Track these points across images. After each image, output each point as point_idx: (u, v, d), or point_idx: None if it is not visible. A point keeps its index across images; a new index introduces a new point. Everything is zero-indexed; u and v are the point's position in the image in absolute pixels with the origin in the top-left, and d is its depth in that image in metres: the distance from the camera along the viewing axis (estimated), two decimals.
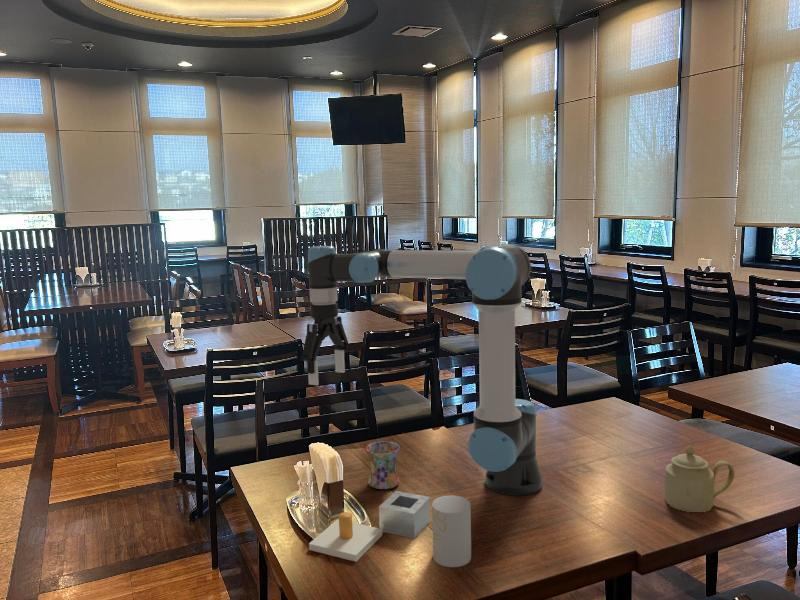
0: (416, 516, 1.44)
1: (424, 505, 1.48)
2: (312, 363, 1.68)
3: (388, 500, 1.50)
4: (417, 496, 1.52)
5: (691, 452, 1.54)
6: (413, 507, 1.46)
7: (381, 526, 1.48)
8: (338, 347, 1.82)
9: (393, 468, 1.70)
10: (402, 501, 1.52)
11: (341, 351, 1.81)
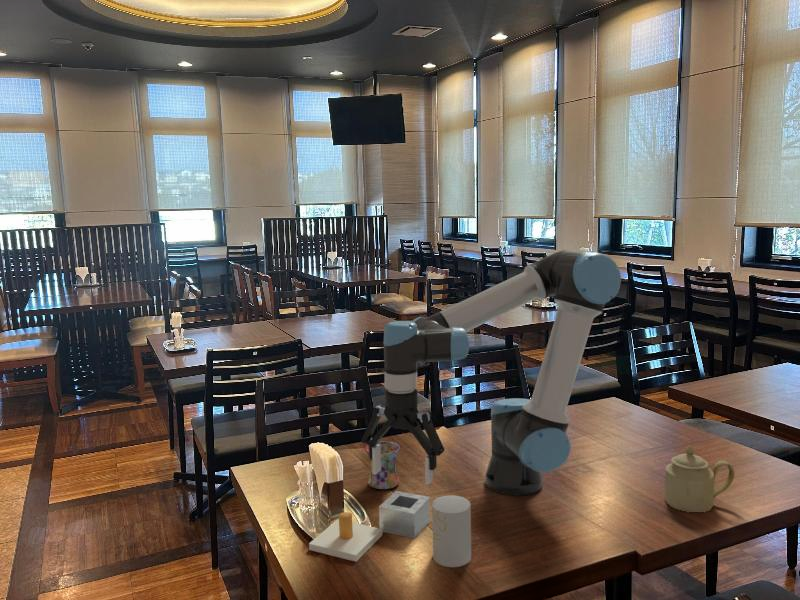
0: (416, 516, 1.44)
1: (424, 505, 1.48)
2: (370, 448, 1.50)
3: (388, 500, 1.50)
4: (417, 496, 1.52)
5: (691, 452, 1.54)
6: (413, 507, 1.46)
7: (381, 526, 1.48)
8: None
9: (393, 468, 1.70)
10: (402, 501, 1.52)
11: None
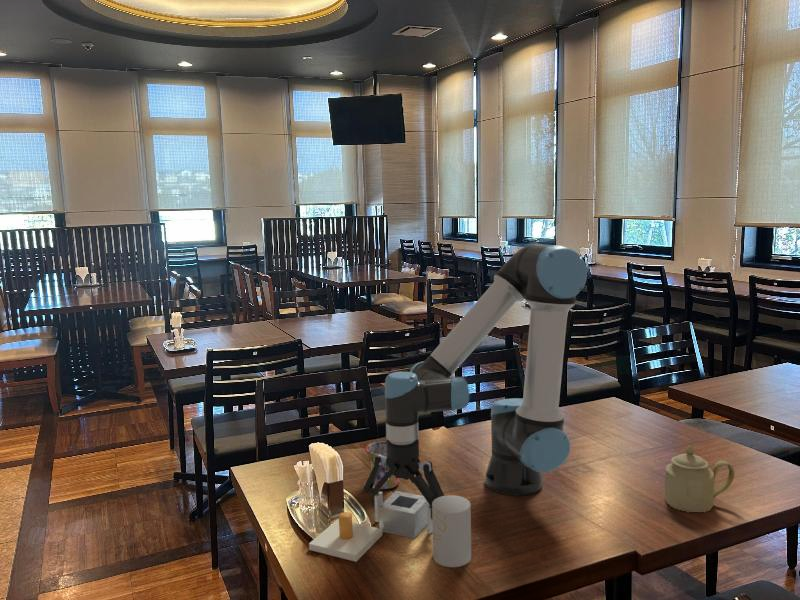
0: (416, 516, 1.44)
1: (424, 505, 1.48)
2: (373, 495, 1.52)
3: (388, 500, 1.50)
4: (417, 496, 1.52)
5: (691, 452, 1.54)
6: (413, 507, 1.46)
7: (381, 526, 1.48)
8: None
9: None
10: (402, 501, 1.52)
11: None
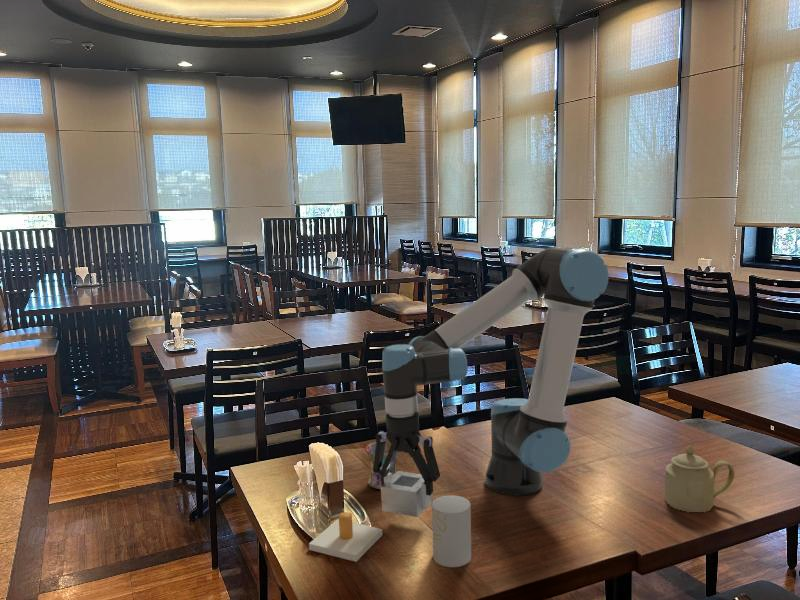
0: (418, 495, 1.44)
1: None
2: (382, 477, 1.51)
3: (390, 480, 1.50)
4: (419, 475, 1.51)
5: (691, 452, 1.54)
6: (415, 486, 1.46)
7: (383, 506, 1.47)
8: None
9: (393, 468, 1.70)
10: (404, 481, 1.52)
11: None
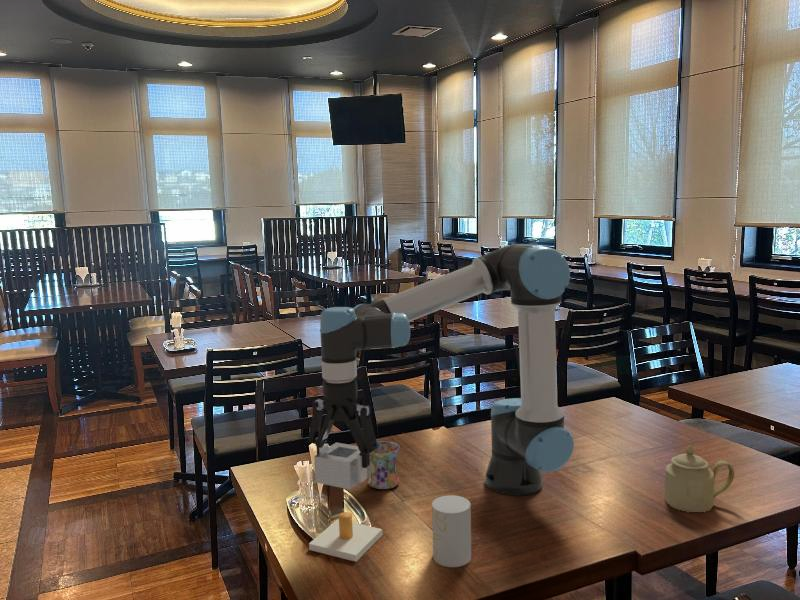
0: (352, 466, 1.36)
1: None
2: (318, 447, 1.42)
3: (325, 450, 1.41)
4: (357, 447, 1.43)
5: (691, 452, 1.54)
6: (350, 457, 1.37)
7: (317, 477, 1.39)
8: None
9: (393, 468, 1.70)
10: (341, 452, 1.44)
11: None
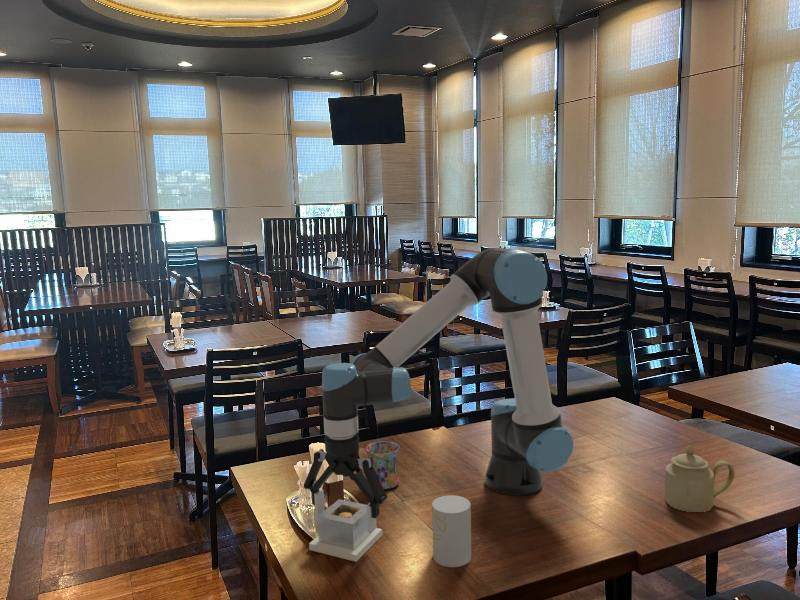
0: (355, 527, 1.38)
1: (365, 514, 1.42)
2: (313, 493, 1.45)
3: (328, 509, 1.43)
4: (359, 505, 1.45)
5: (691, 452, 1.54)
6: (353, 517, 1.39)
7: (320, 537, 1.41)
8: None
9: (393, 468, 1.70)
10: (344, 510, 1.46)
11: None
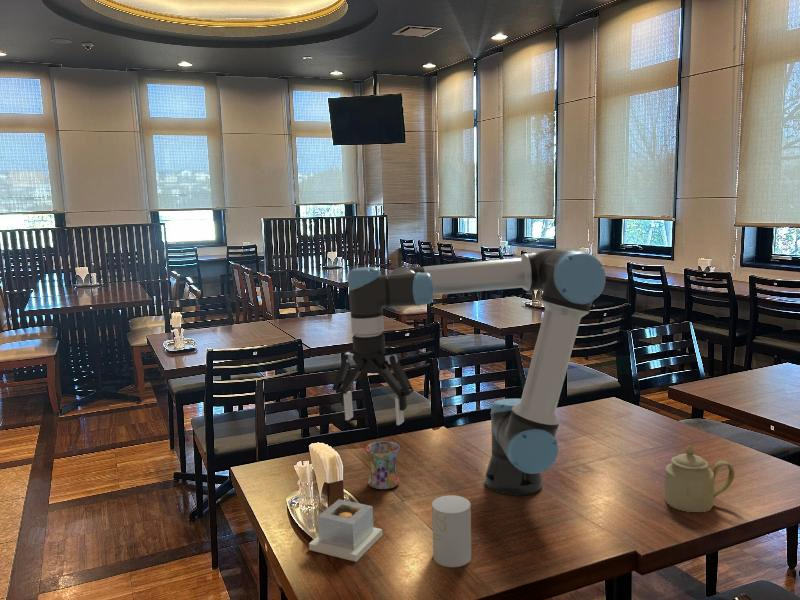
0: (355, 527, 1.38)
1: (365, 514, 1.42)
2: (342, 394, 1.53)
3: (328, 509, 1.43)
4: (359, 505, 1.45)
5: (691, 452, 1.54)
6: (353, 517, 1.39)
7: (320, 537, 1.41)
8: None
9: (393, 468, 1.70)
10: (344, 510, 1.46)
11: None
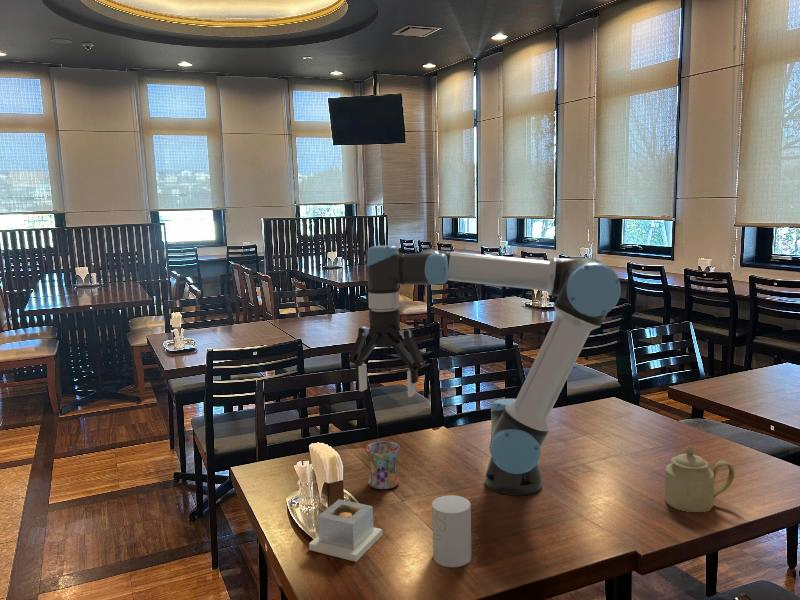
0: (355, 527, 1.38)
1: (365, 514, 1.42)
2: (357, 366, 1.61)
3: (328, 509, 1.43)
4: (359, 505, 1.45)
5: (691, 452, 1.54)
6: (353, 517, 1.39)
7: (320, 537, 1.41)
8: None
9: (393, 468, 1.70)
10: (344, 510, 1.46)
11: None
